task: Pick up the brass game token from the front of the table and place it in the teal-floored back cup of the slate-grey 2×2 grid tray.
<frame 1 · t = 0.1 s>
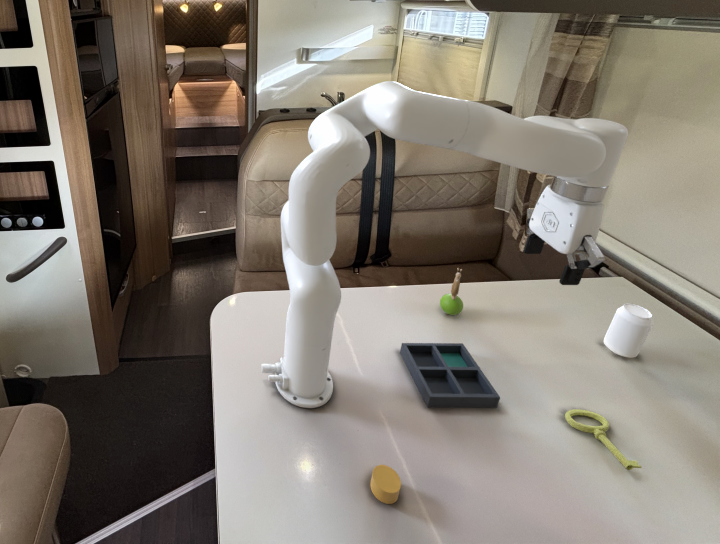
hand: (549, 267, 82), 31 cm above the table, tool pointing down, fingers open, 9 cm apart
grid: (444, 378, 95), on the table
key: (598, 439, 83), on the table
token: (384, 489, 74), on the table
beverage can: (618, 350, 102), on the table
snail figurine: (449, 311, 115), on the table
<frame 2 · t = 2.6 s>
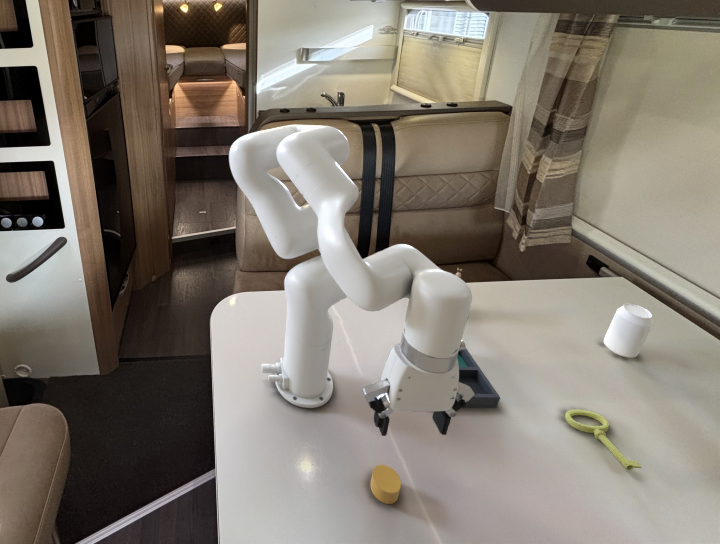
hand: (409, 427, 70), 14 cm above the table, tool pointing down, fingers open, 9 cm apart
nothing on the table moved.
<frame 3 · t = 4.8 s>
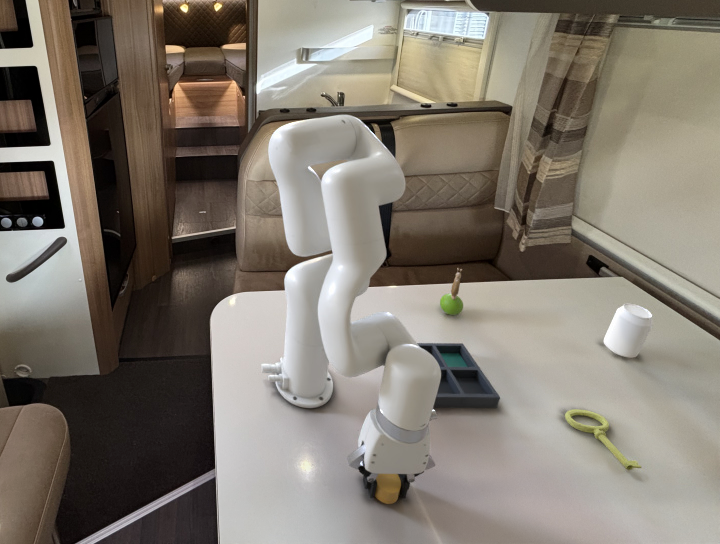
hand: (384, 488, 74), 0 cm above the table, tool pointing down, fingers closed on token, 4 cm apart
token: (384, 489, 74), on the table, touching gripper
everything else where it was.
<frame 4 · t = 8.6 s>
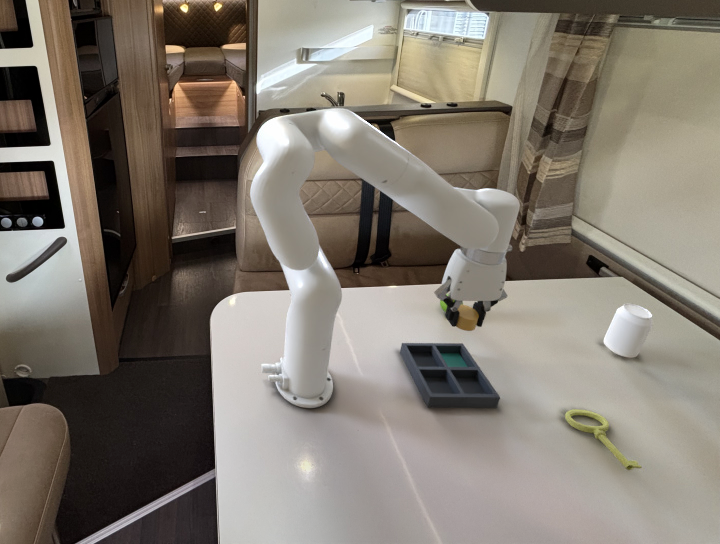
hand: (463, 321, 91), 15 cm above the table, tool pointing down, fingers closed on token, 4 cm apart
token: (463, 323, 91), point 15 cm above the table, touching gripper
everything else where it was.
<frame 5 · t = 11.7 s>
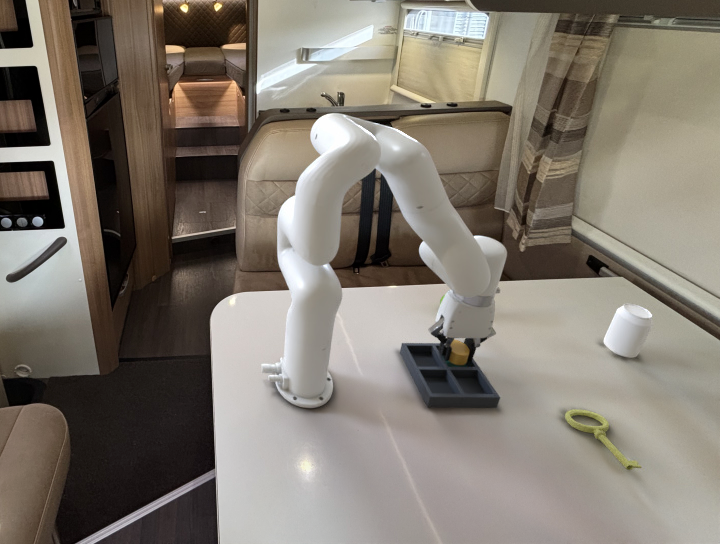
hand: (455, 355, 97), 3 cm above the table, tool pointing down, fingers closed on token, 4 cm apart
token: (455, 357, 97), point 3 cm above the table, touching gripper
everything else where it was.
when the fingers open (3 cm above the table, at t = 12.8 s): token drops 2 cm, resting on grid.
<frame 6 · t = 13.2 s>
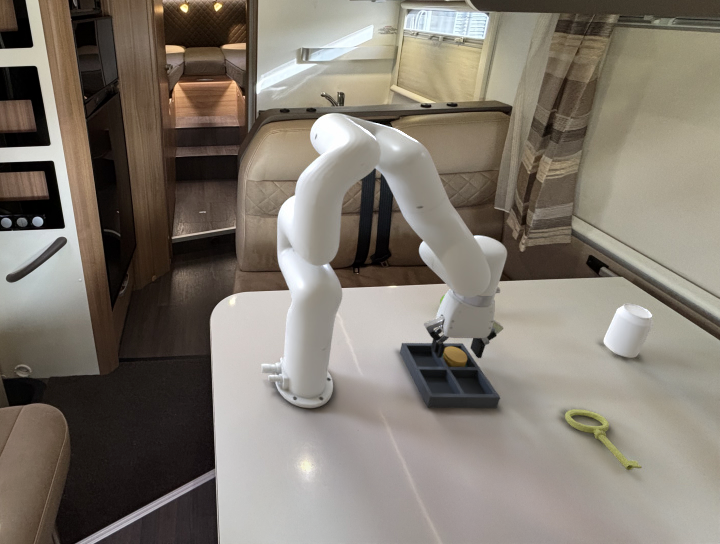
hand: (455, 352, 97), 4 cm above the table, tool pointing down, fingers open, 8 cm apart
token: (453, 363, 98), point 1 cm above the table, touching grid
everything else where it was.
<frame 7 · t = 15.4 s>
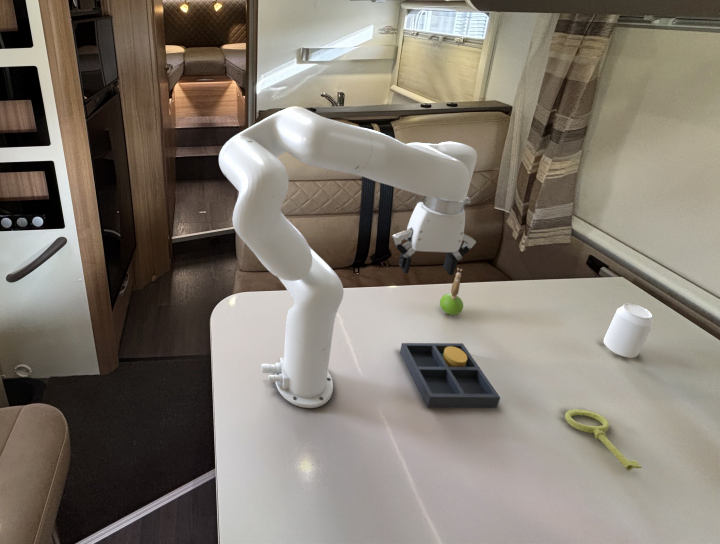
hand: (425, 270, 94), 23 cm above the table, tool pointing down, fingers open, 9 cm apart
nothing on the table moved.
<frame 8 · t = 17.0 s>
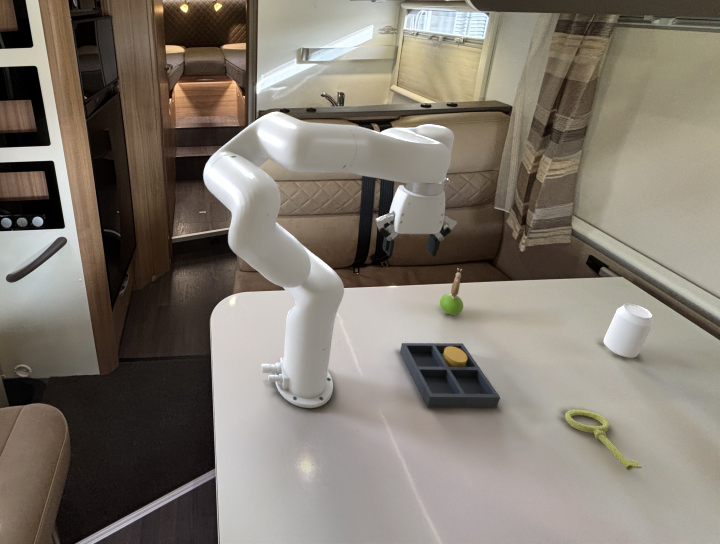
hand: (409, 252, 95), 26 cm above the table, tool pointing down, fingers open, 9 cm apart
nothing on the table moved.
at the end: token 0.1 cm from the target spot in the grid, point 0.8 cm above the grid's base; token tilted 0° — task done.
